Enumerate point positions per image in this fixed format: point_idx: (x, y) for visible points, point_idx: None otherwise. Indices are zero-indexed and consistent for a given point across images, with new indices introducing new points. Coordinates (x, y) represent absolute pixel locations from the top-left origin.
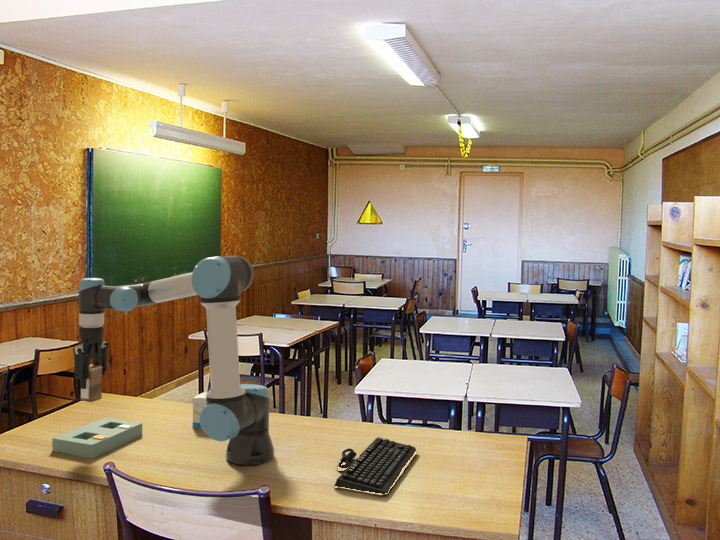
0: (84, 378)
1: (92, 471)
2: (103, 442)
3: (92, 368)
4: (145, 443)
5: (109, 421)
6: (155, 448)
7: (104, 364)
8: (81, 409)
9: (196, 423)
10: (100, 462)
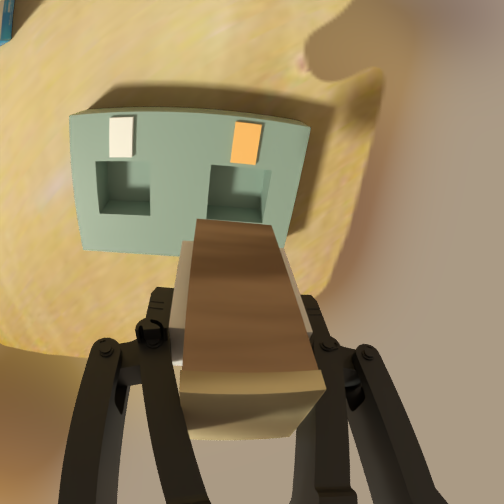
0: (336, 342)
1: (372, 78)
2: (258, 117)
3: (313, 391)
4: (139, 55)
5: (99, 218)
6: (171, 5)
7: (110, 396)
8: (52, 339)
9: (2, 29)
10: (316, 86)
